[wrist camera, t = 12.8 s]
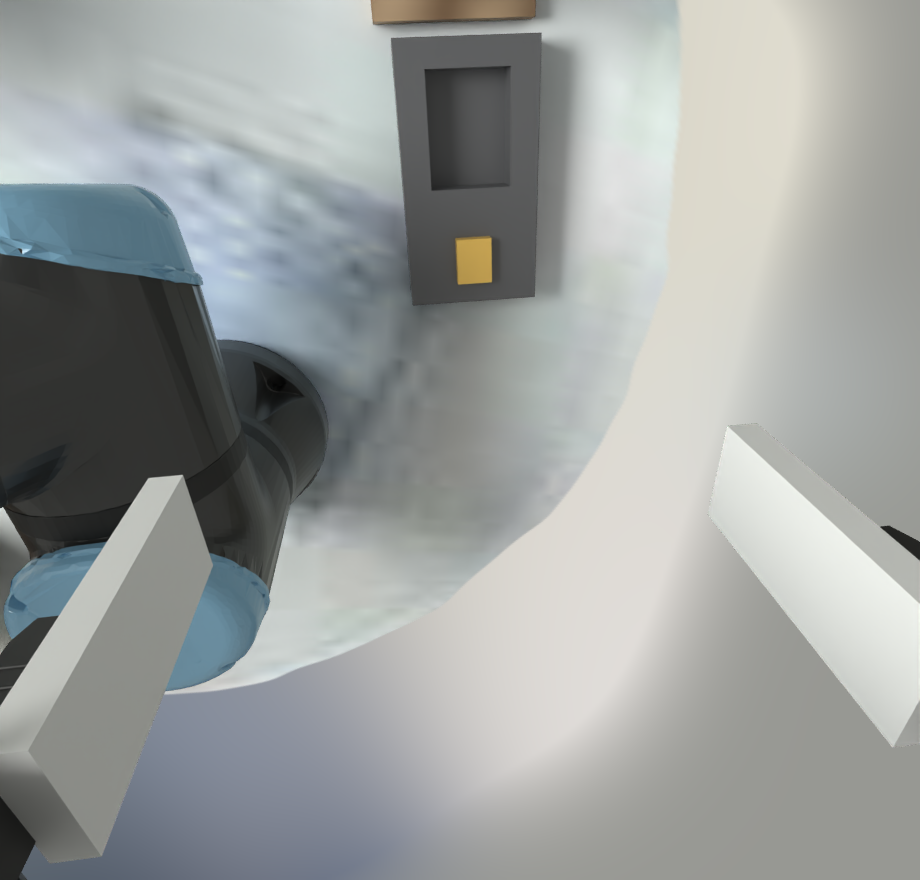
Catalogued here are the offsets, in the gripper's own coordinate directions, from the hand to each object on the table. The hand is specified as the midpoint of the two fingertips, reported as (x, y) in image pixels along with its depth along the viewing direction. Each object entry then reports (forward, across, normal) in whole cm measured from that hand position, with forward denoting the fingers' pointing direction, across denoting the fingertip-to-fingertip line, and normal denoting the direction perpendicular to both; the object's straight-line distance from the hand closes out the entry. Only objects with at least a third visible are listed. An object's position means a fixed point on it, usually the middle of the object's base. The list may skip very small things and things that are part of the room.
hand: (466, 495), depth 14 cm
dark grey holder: (+33, -4, -4) cm, 33 cm away
